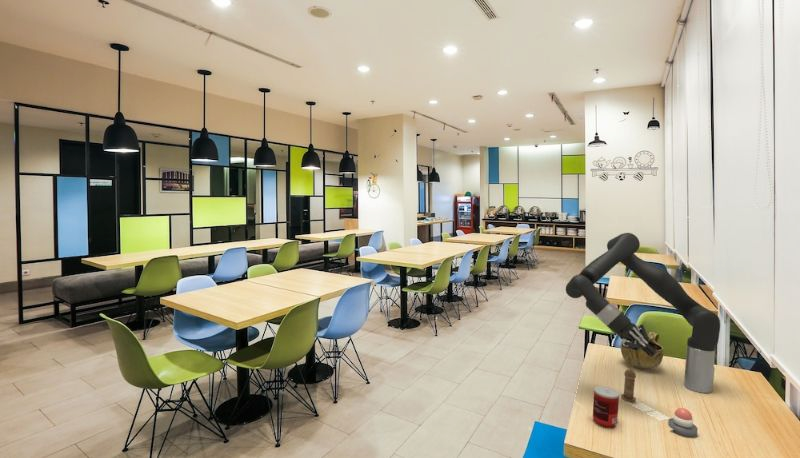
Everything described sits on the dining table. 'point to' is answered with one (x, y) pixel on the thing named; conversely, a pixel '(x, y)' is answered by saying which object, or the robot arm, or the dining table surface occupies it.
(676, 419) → the dome plunger
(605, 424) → the canned food
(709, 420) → the dining table surface
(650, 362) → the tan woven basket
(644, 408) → the track
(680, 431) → the dome housing
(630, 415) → the dining table surface
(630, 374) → the pawn
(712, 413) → the dining table surface
